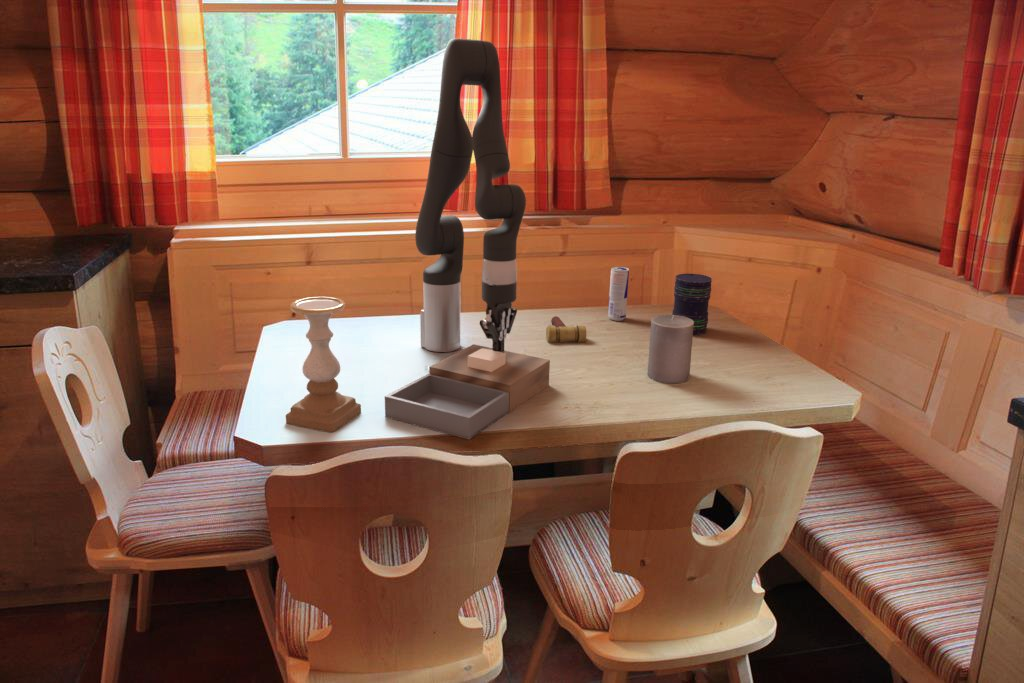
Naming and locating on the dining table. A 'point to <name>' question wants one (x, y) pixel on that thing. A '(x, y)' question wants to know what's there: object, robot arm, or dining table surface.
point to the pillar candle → (670, 348)
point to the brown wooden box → (499, 374)
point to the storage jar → (693, 299)
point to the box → (447, 405)
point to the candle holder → (321, 371)
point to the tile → (486, 360)
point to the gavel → (564, 332)
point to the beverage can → (618, 293)
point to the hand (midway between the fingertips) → (498, 354)
